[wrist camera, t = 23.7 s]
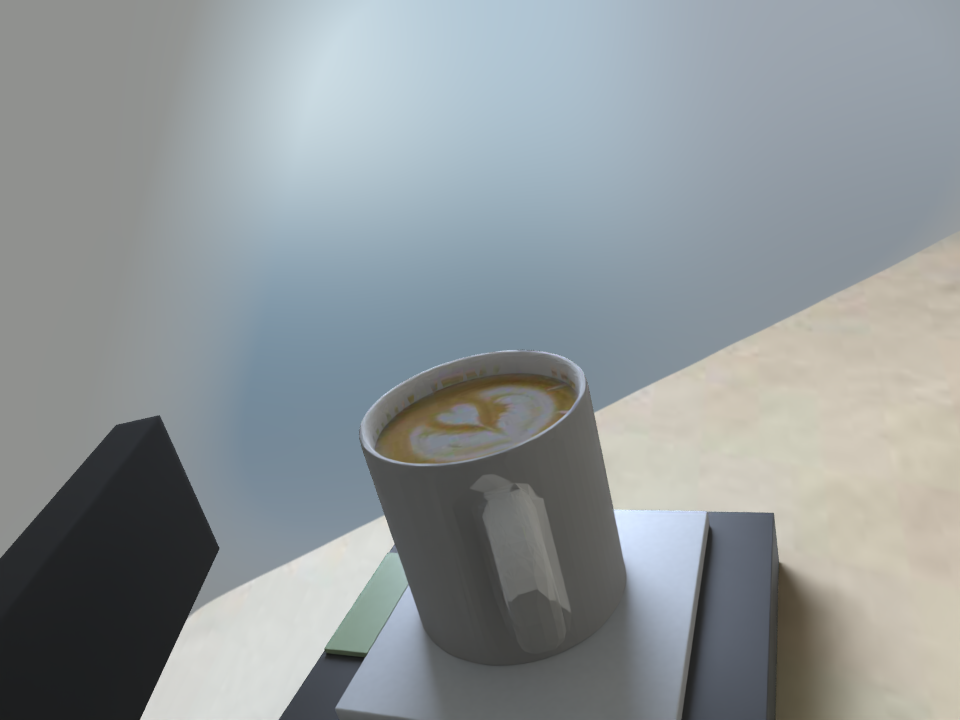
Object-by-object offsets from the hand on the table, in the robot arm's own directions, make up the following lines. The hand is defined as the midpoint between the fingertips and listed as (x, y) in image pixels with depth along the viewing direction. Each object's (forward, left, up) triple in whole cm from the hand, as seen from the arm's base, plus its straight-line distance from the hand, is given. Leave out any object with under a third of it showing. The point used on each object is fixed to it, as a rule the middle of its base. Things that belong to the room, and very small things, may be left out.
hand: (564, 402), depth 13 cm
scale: (-9, +15, -22) cm, 28 cm away
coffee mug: (-9, +14, -19) cm, 25 cm away
